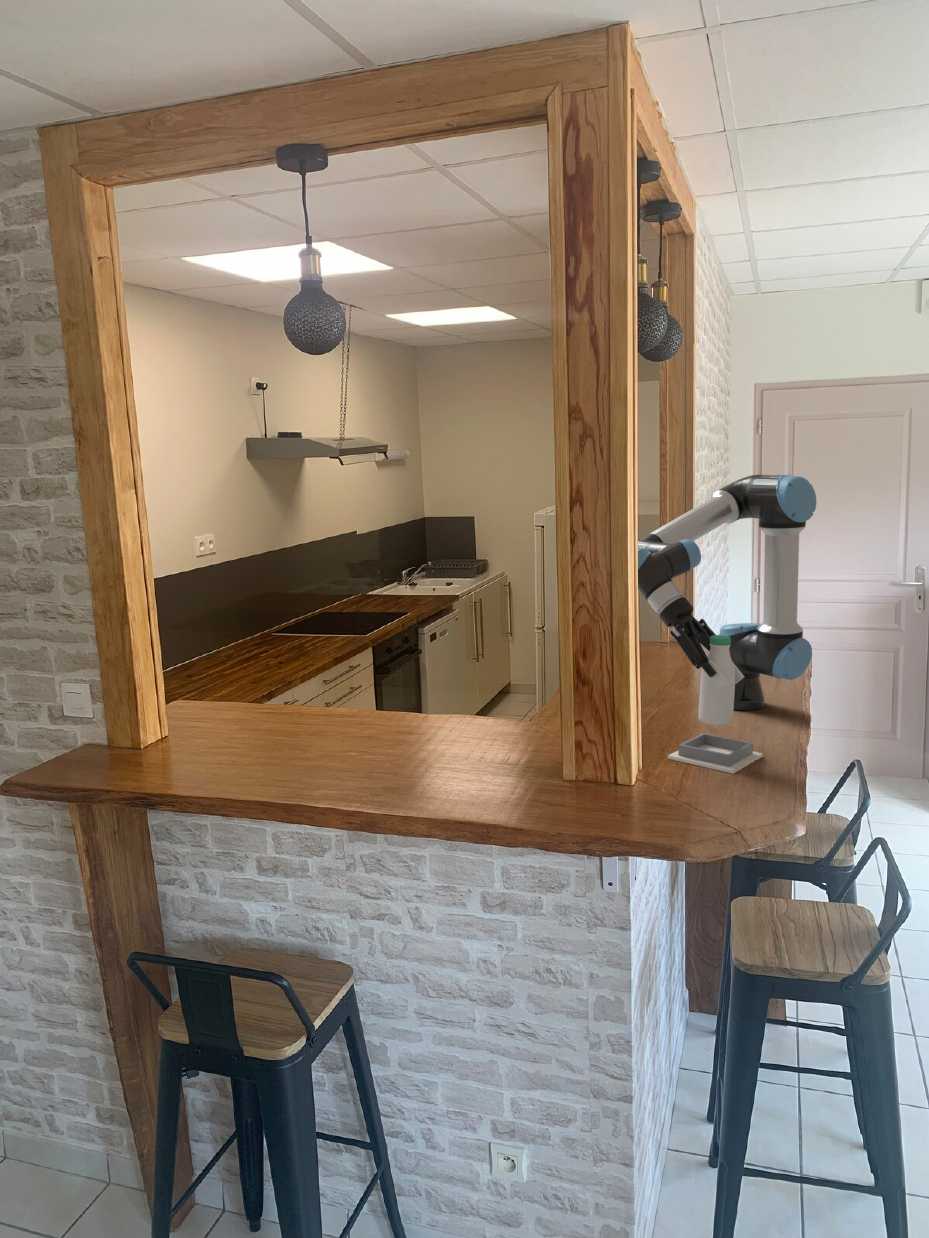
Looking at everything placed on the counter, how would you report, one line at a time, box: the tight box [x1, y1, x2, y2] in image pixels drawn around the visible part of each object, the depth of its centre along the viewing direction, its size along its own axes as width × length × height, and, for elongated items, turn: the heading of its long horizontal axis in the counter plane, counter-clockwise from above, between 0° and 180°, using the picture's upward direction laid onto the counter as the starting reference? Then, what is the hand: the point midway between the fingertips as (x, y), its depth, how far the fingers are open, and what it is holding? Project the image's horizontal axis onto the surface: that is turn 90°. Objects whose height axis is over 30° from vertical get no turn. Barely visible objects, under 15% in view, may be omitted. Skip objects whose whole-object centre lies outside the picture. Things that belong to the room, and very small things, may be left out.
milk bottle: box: [698, 634, 735, 726], centre depth 213 cm, size 8×8×20 cm
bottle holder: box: [667, 732, 764, 775], centre depth 216 cm, size 16×16×3 cm
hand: (732, 683), depth 211 cm, fingers closed on milk bottle, 7 cm apart
